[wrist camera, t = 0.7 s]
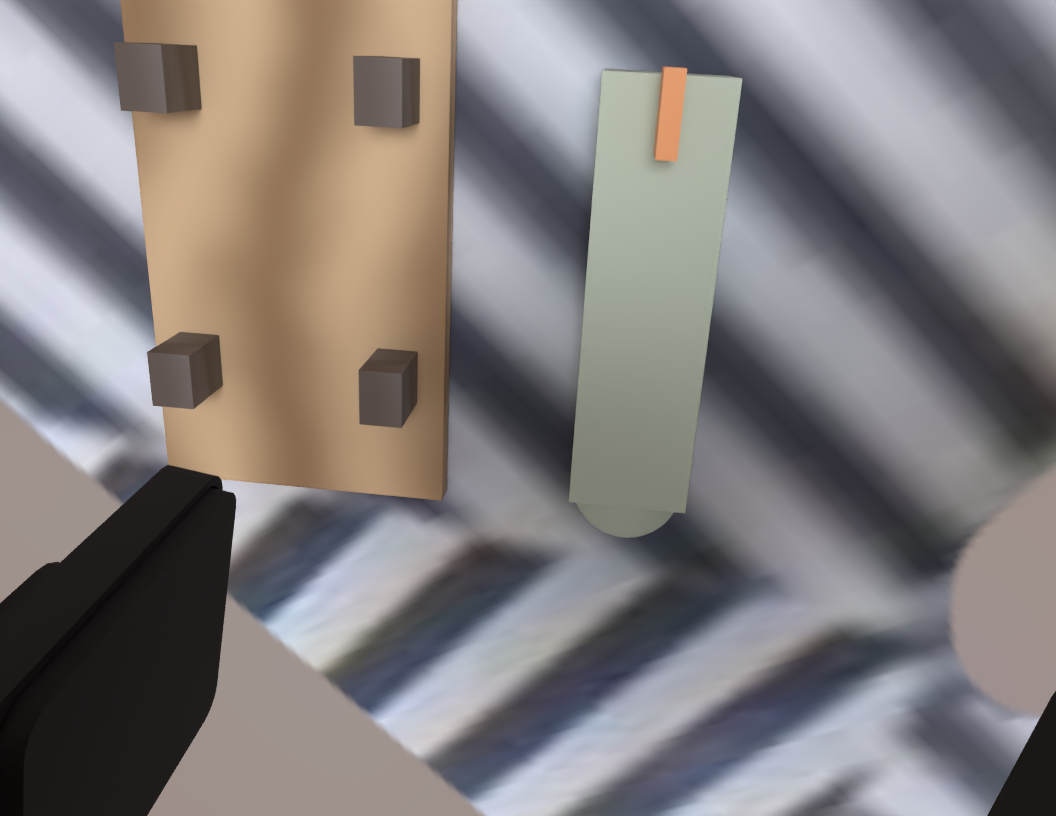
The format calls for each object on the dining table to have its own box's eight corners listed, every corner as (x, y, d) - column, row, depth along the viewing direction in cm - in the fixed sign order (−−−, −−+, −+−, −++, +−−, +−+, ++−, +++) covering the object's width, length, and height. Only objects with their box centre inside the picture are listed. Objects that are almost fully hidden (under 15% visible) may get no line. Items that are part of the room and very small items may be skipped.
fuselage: (729, 69, 29) (752, 72, 24) (673, 510, 35) (681, 595, 30) (606, 62, 30) (600, 63, 24) (571, 500, 36) (560, 582, 30)
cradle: (459, -75, 29) (437, -92, 25) (446, 488, 36) (428, 531, 33) (127, -91, 30) (65, -108, 26) (181, 463, 37) (137, 503, 34)
